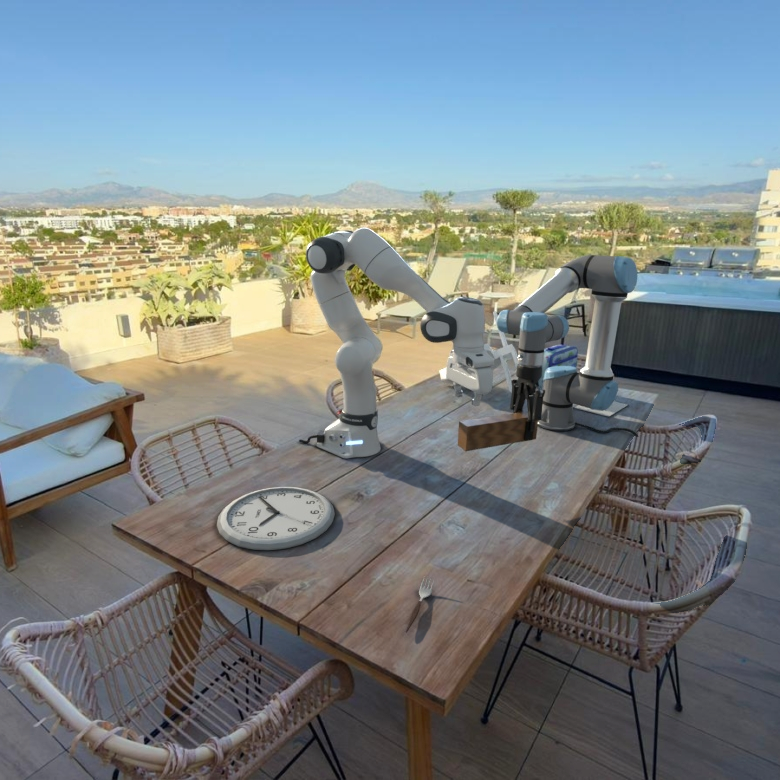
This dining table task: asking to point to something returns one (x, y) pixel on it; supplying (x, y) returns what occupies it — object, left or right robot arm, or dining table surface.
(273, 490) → the wall clock
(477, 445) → the bar
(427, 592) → the fork
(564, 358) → the lunch box
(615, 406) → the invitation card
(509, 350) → the white plastic object
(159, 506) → the dining table surface
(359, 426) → the left robot arm
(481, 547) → the dining table surface
